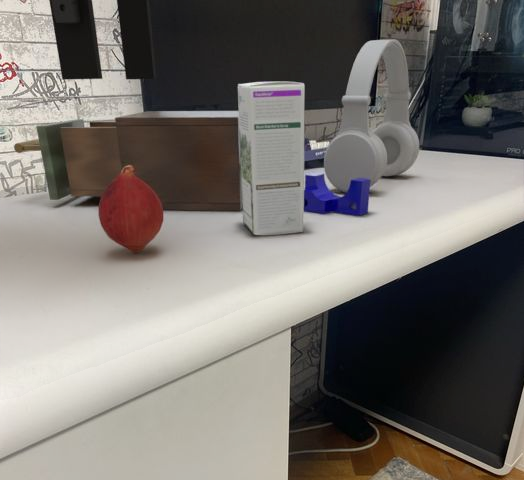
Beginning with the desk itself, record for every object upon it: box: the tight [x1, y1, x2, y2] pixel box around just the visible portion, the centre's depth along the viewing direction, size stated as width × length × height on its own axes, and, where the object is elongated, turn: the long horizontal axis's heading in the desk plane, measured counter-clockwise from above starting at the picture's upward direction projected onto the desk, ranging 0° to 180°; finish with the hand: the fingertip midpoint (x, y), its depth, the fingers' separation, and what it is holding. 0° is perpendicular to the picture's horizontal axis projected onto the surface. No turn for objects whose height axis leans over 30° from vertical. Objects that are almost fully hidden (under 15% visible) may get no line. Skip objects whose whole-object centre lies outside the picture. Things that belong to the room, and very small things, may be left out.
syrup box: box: [237, 80, 306, 236], centre depth 56 cm, size 6×6×14 cm
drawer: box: [13, 118, 122, 201], centre depth 72 cm, size 18×12×9 cm, turn 84°
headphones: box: [323, 39, 420, 194], centre depth 78 cm, size 20×8×19 cm, turn 149°
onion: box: [98, 165, 164, 254], centre depth 49 cm, size 6×6×8 cm
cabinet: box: [114, 110, 243, 212], centre depth 71 cm, size 15×13×11 cm
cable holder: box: [304, 172, 371, 217], centre depth 65 cm, size 8×4×4 cm, turn 51°
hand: (115, 79), depth 44 cm, fingers open, 13 cm apart
